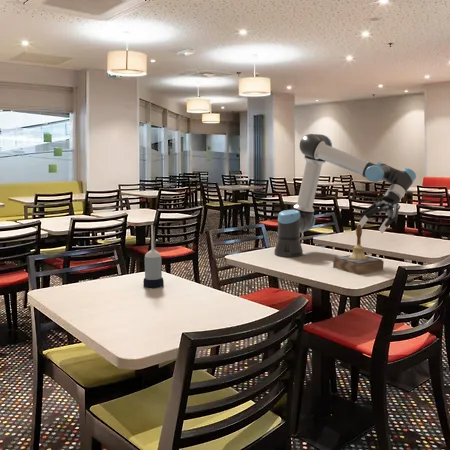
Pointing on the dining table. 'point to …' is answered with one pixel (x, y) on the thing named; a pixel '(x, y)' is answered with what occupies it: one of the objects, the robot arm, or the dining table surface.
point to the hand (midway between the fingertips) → (369, 229)
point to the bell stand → (358, 264)
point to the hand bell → (358, 247)
